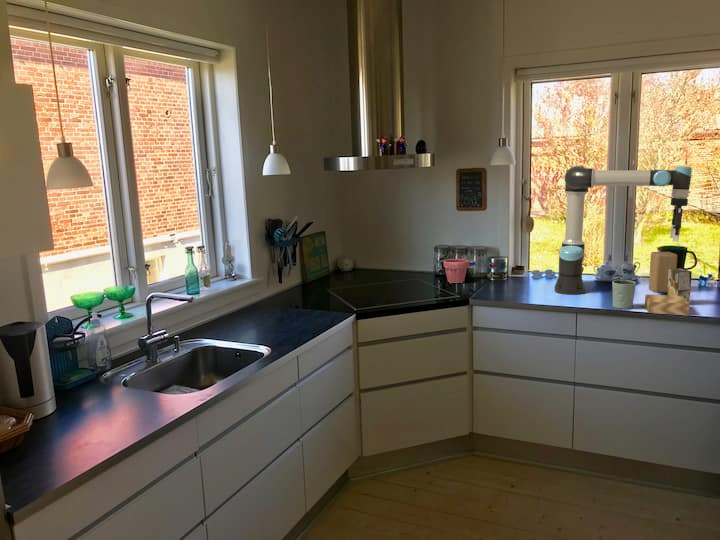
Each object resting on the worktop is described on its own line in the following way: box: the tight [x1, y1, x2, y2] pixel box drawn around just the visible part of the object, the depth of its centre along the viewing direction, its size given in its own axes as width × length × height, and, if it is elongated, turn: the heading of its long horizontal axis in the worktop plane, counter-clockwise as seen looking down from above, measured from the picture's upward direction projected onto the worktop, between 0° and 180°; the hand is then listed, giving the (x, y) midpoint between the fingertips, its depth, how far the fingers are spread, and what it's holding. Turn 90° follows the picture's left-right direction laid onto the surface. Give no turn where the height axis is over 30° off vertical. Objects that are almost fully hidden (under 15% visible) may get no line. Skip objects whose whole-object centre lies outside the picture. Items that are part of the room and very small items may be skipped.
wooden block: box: [648, 251, 678, 294], centre depth 311 cm, size 10×10×20 cm
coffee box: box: [666, 267, 693, 304], centre depth 285 cm, size 9×6×16 cm
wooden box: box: [644, 294, 690, 316], centre depth 273 cm, size 16×16×5 cm
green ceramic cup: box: [611, 279, 637, 310], centre depth 280 cm, size 10×10×12 cm
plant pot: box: [443, 258, 469, 284], centre depth 345 cm, size 14×14×13 cm
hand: (674, 239), depth 305 cm, fingers open, 13 cm apart
